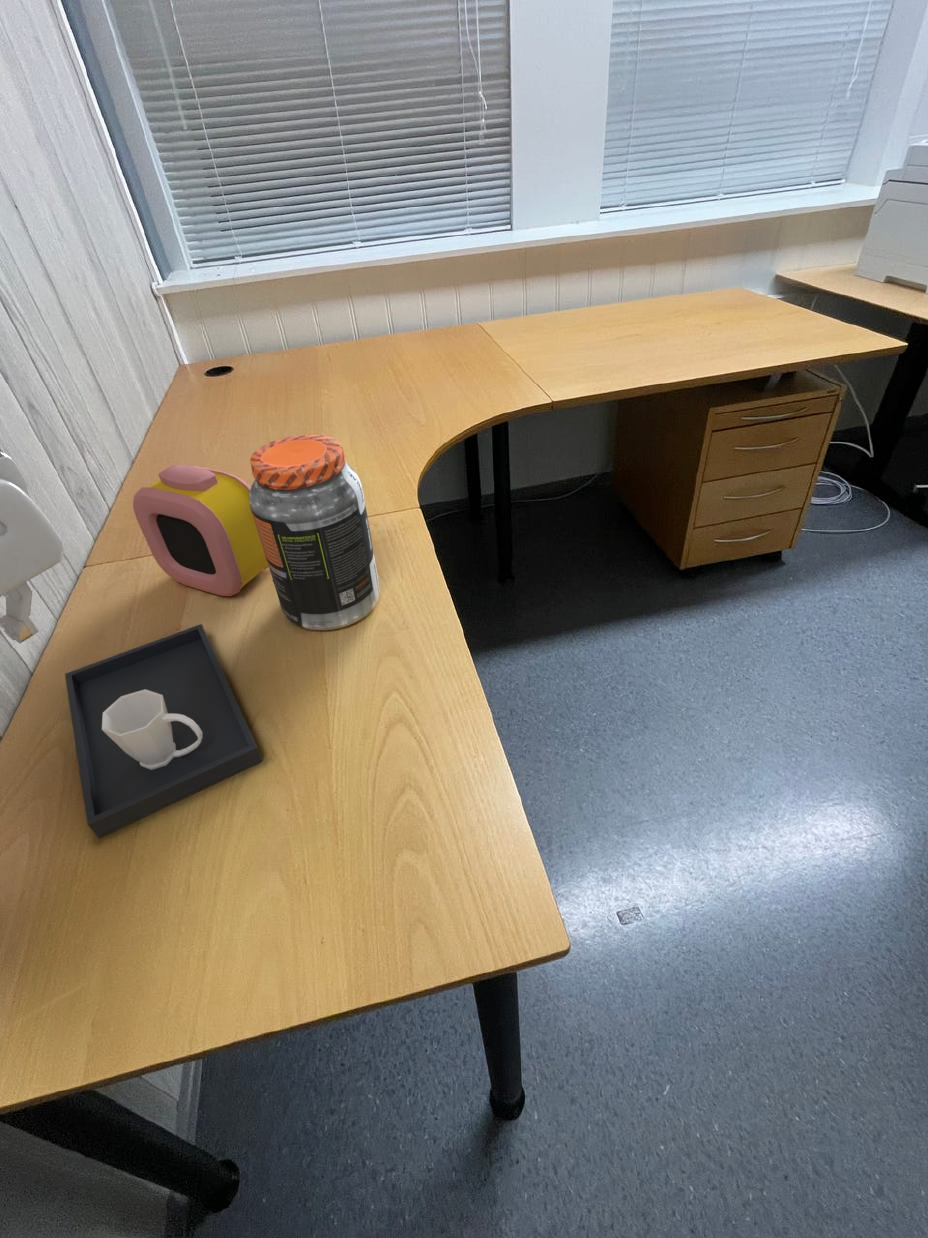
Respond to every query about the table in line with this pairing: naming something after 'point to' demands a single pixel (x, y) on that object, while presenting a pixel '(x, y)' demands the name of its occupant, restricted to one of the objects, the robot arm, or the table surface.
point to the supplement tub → (314, 531)
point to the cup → (146, 728)
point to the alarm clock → (201, 528)
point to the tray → (188, 689)
